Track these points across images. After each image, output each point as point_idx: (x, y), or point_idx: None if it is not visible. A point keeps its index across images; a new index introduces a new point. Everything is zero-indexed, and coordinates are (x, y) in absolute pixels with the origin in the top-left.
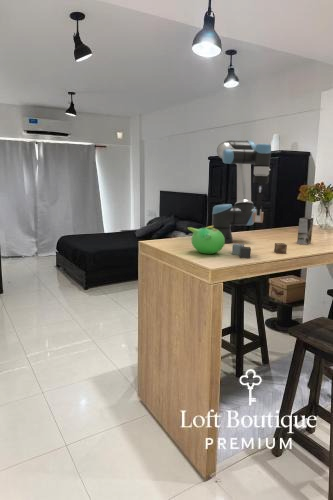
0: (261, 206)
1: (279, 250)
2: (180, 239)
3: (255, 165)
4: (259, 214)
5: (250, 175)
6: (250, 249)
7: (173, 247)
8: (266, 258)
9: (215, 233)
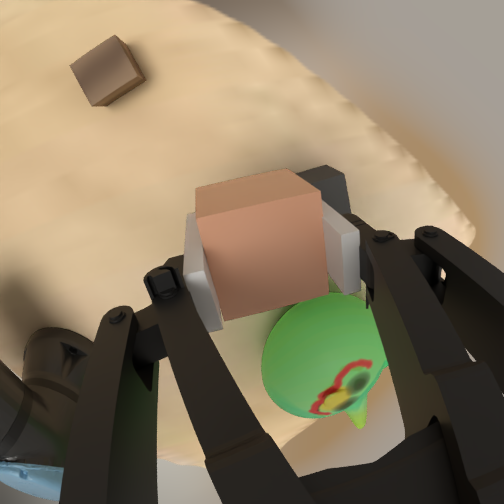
0: (437, 232)
1: (137, 69)
2: None
3: None
4: (356, 217)
5: None
6: (343, 174)
7: (273, 416)
8: (290, 100)
9: (377, 346)
